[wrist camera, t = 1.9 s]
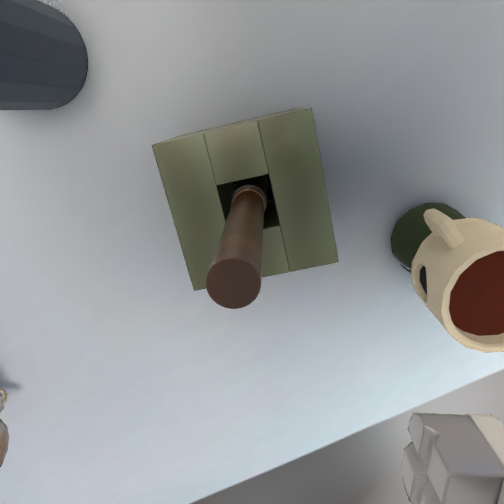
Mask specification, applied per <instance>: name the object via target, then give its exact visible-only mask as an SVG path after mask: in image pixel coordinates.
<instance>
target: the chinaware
mask: <svg viewBox="0 0 504 504" xmlns="http://www.w3.org/2000/svg"><path fill="white" fill-rule="evenodd" d="M0 393H1V394H2V395H3V396H4V399H3V405H4V404H5V403H6V401H7V393H6V392H5V391H4V390H2V389H0Z"/></svg>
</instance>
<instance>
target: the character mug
mask: <svg viewBox="0 0 504 504" xmlns="http://www.w3.org/2000/svg"><path fill="white" fill-rule="evenodd" d="M391 244H392V253H393V254H394V256H395V257H397V258H398V259H399V260H400V261H401V262H403V263H404V264H405V265H407V266H408V267H410V268H411V270H409V269H407V268H405V267H404V266H403V265H401V266H402V267H403V268H405V269H406V270H407V271H409V272H410V273H411V278H412V282H413V285H414V288H415V290H416V292H417V294H418V295H419V297H420V298H421V299H422V301H423V302H424V303H425V305H426V306H427V307H428V309H429V310H430V311H431V312H432V313H433V314H434V315H435V317H436V318H437V319H438V320H439V322H440V323H441V324H442V325H443V327H444V328H445V329H446V330H447V331H448V333H449V334H450V335H451V336H452V337H453V338H454V339H455V340H456V341H458V342H459V343H461V344H462V345H464V346H465V347H467V348H471V349H474V350H478V351H482V352H486V353H487V352H504V228H503V227H501V226H499V225H497V224H494V223H491V222H488V221H485V220H482V219H480V218H465V217H464V216H463V215H462V214H460V213H459V212H458V211H457V210H455V209H453V208H451V207H449V206H447V205H445V204H441V203H426V204H424V205H422V206H419V207H417V208H415V209H412V210H410V211H409V212H408V213H407V214H405V215H404V216H403V217H402V218H401V219H400V220H399V221H398V222H397V223H396V226H395V228H394V231H393V234H392V237H391Z"/></svg>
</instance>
